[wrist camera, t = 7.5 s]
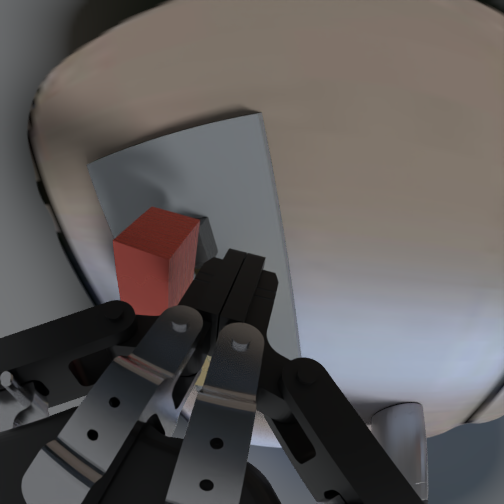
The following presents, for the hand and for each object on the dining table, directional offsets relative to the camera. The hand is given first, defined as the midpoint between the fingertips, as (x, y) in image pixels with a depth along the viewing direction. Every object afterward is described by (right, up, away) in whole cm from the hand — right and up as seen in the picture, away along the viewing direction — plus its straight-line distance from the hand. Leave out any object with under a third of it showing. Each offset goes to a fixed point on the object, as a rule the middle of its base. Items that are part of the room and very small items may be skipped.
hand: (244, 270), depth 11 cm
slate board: (-3, -2, +14) cm, 15 cm away
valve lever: (-4, -3, +3) cm, 6 cm away
